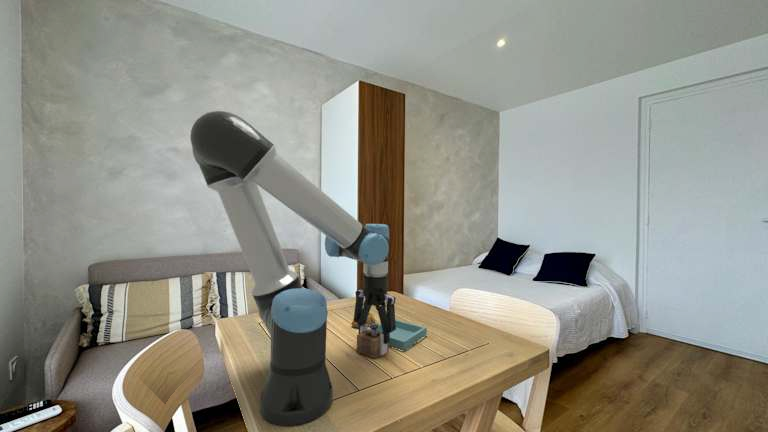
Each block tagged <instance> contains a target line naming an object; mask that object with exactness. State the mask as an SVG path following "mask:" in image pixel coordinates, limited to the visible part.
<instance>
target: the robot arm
mask: <svg viewBox="0 0 768 432" xmlns="http://www.w3.org/2000/svg"><path fill="white" fill-rule="evenodd" d="M190 144H191V147H192V149H191V150H192V153H193V154H192V155H193V158H194V159H195V162H196V163H197V165H198V166H199V169H200V171H201V173H202V176H203V178H204V181H205V183H206V185H207V186H206V187H207V188H208V189H211V190H213V191H216V192H217V193H218V196H219V198H220V200H221V203H222V205H223V208H224V211H225V212H226V215H227V217H228V220H229V222H230V225H231V227H232V230H233V232H234V234H235V237H236V239H237V243H238V245H239V246H240V250H241V253H242V254H243V257H244V259H245V262H246V264H247V266H248V269H249V272H250V274H251V277H252V278H253V281H254V287H253V288H252V291H251V294H252V297H253V299H254V302H255V305H256V307H257V309H258V314H259V317H260V319H261V321H262V322H263V324H264V326H265V327H266V329H267V331H268V334H269V336H270V358H269V359H270V360H269V362H270V363H269V372H268V375H267V377H266V381H265V385H264V388H263V390H262V393H261V395H260V398H259V399H260V400H259V401H260V402H259V403H260V404H259V406H260V407H259V409H260V410H259V411H260V415H261V416H262V418H263V419H265V420H266V421H268V422H269V423H272V424H273V425H278V426H296V425H302V424H305V423H309V422H311V421H314V420H316V419H317V418H320V416H322V415H324V414H325V413H326V412H327V410H329V408H330V407H331V405H332V403H333V394H334V393H333V391H334V389H333V385H332V382H331V378H330V374H329V371H328V368H327V365H326V357H327V355H326V354H327V353H326V352H327V351H326V350H327V349H326V348H327V329H328V328H327V326H328V324H327V323H328V320H327V319H328V318H327V317H328V314H329V313H328V312H329V311H328V306H327V298H326V297H325V296H324V294H322V293H321V292H319V291H318V290H317V291H316V290H314V289H313V290H311V289H310V288H303V285H302V282H301V280H300V277H299V274H298V273H297V272H295V271H294V270H291V269H290V268H289V265H288V263H287V260H286V258H285V255H284V252H283V249H282V247H281V245H280V242H279V239H278V236H277V234H276V232H275V229H274V226H273V223H272V221H271V218H270V215H269V212H268V210H267V208H266V205H265V202H264V199H263V197H262V194H261V192H260V189H259V187H260V188H261V189H262V190H264V191H266V192H267V193H268V194H269V195H271V196H272V197H273V198H274V199H276V200H277V201H279V202H280V203H281V204H283V205H284V206H286V208H288V209H289V210H291V211H293V212H294V213H295V214H296V215H298V216H299V217H300V218H301V219H303V220H305V221H306V222H307V223H308V224H309V225H311V226H312V227H314V228H315V229H317V231H319V232H321V233H322V234H324V235H325V239H324V248H325V253H326V254H327V256H329V257H331V258H332V257H333V258H334V257H335V258H339V257H340V258H342V257H345V258H348V259H351V260H355V261H357V262H360V263H363V269H362V271H363V272H362V273H364V274H363V277H362V287H363V289H359V290H356V291H355V304H354V305H355V306H354V315H353V320H354V322H357V323H358V325H359V328H358V334H360V333H362V332H365V331H367V329H369V328H368V327H369V326H368V325H367V324H365V323H367V322H366V320H367V317H368V314H369V313H371V312H370V311H371V309H372V306H374V307H375V309H376V310H377V313H378V317H379V321H380V322H379V323H381V326H382V330H383V332H381V333H380V356H384V355H385V354H387V353H388V351H387V343H389V340H390V333H391V332H393V331H394V330H396V323H395V319H396V311H395V303H396V296H391V295H388V292H387V289H388V283H389V282H388V281H389V278H388V277H389V276H388V275H387V274H388V273H389V252H390V251H389V249H390V248H389V247H390V228H389V225H387V224H384V223H366V224H365V225H364V224H362V223H361V222H360V221H359V220H357V219H356V218H355V217H354V216H353V215H351V214H350V213H349V212H348V211H346V210H345V209H344V208H343V207H342V206H340V205H339V204H338V203H337V202H336V201H335V200H334V199H332V198H331V197H329V195H327V194H326V193H325V192H323V190H322V189H320V188H319V187H317V185H315V184H314V183H313V182H311V181H310V180H309V179H308V178H307V177H306V176H304V175H303V174H302V173H301V172H300V171H298V170H297V169H296V168H295V167H294V166H292V165H291V163H289V162H287V161H286V160H285V159H284V158H283V157H282V156H280V155H279V154H278V153H277V150H276V145H275V144H273V143H272V141H270V140H269V139H268V138H266V137H265V136H264V135H263V134H262V133H261V132H259V130H257V129H256V128H255V127H254V126H252V124H250V123H249V122H247V121H246V120H245V119H244V118H242V117H241V116H238V115H237V114H235V113H232V112H229V111H222V110H221V111H220V110H217V111H210V112H206V113H205V114H202V115H201V116H199V117H198V118H197V119H196V120H195V122H194V123H193V125H192V127H191V130H190ZM324 235H323V236H324Z"/></svg>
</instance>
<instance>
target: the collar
mask: <svg viewBox="0 0 768 432" xmlns="http://www.w3.org/2000/svg"><path fill="white" fill-rule="evenodd" d="M368 329H369V328H368ZM381 332H382V331H379V330H377V337H375V338H374V337H371V329H369V330H367V331H365V332H362V333H360V334H359V333H358V334H357V335H356V353H359V354H362V355H364V356H367V357H369V358H373V359H377V358H378V357H380V356H381V355H380V333H381ZM388 351H390V347H389V343H387V352H388Z"/></svg>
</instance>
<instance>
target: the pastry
mask: <svg viewBox="0 0 768 432" xmlns="http://www.w3.org/2000/svg"><path fill="white" fill-rule="evenodd" d="M376 321H377V320H376V318H375V317H374V315H373V314H372V313H371V312H369V314H368V317H367V320H366V322H367V323H365V324H367V325H368V327H370V326H369V325H370V324H371V323H377V322H376ZM351 327H353V328H356V329H359V325H358V323H357V322H354V319H352V322H351Z"/></svg>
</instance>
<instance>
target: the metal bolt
mask: <svg viewBox="0 0 768 432" xmlns="http://www.w3.org/2000/svg"><path fill="white" fill-rule="evenodd" d="M379 324H380V323H377V322H375V323H371V324H370V326H369V328H371V337H374V338H375V337H377V328H378V327H379Z"/></svg>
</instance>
